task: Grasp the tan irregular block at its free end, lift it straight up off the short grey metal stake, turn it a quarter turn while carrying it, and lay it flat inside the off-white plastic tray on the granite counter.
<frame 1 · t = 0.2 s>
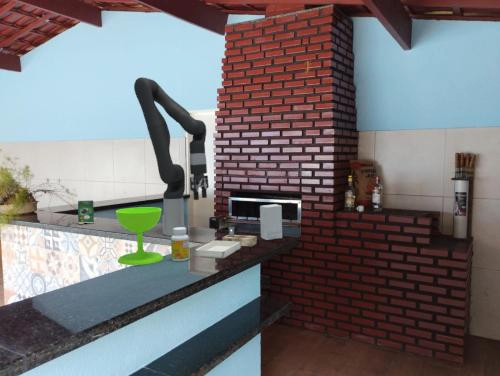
hand: (200, 198, 193), 17 cm above the counter, tool pointing down, fingers open, 8 cm apart
skincare box: (271, 238, 187), on the counter
tan irregular block: (239, 243, 176), on the counter
supplement bottle: (180, 259, 152), on the counter
tray: (218, 252, 162), on the counter
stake: (231, 243, 177), on the counter
wineglass: (140, 259, 152), on the counter
coffee box: (86, 224, 235), on the counter
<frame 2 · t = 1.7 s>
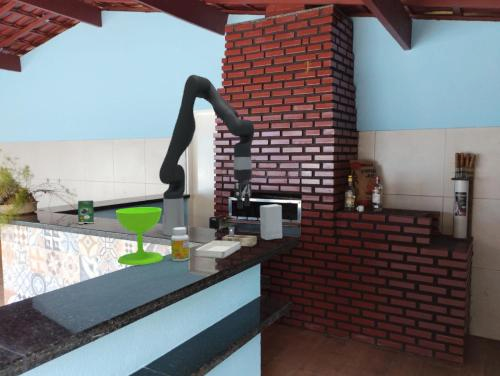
hand: (243, 207, 174), 15 cm above the counter, tool pointing down, fingers open, 8 cm apart
nothing on the counter moved.
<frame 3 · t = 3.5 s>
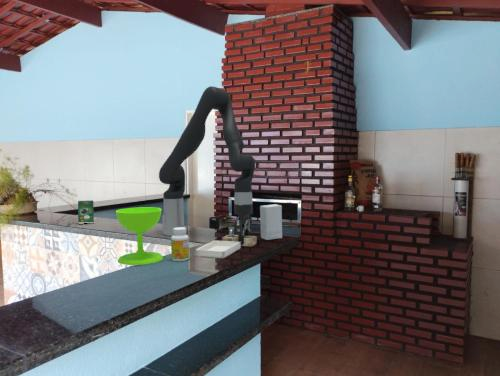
hand: (244, 242, 175), 1 cm above the counter, tool pointing down, fingers closed on tan irregular block, 6 cm apart
tan irregular block: (239, 243, 176), on the counter, touching gripper
everything else where it was.
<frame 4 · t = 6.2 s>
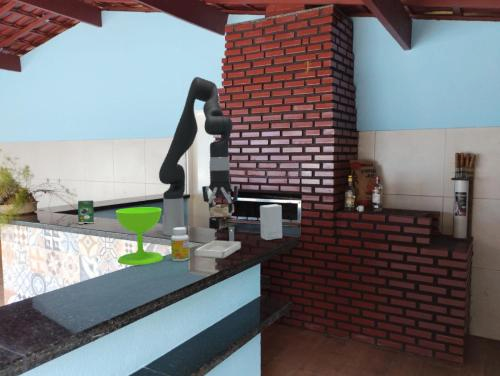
hand: (220, 212, 161), 15 cm above the counter, tool pointing down, fingers closed on tan irregular block, 6 cm apart
tan irregular block: (222, 214, 163), point 14 cm above the counter, touching gripper
everything else where it was.
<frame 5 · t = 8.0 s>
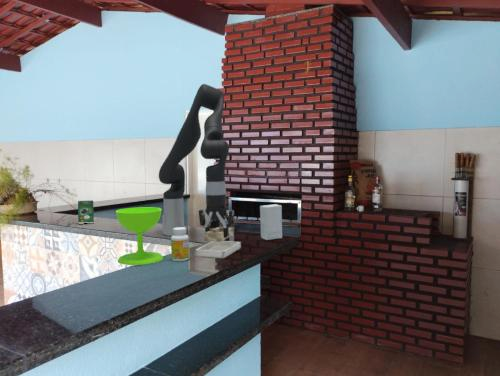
hand: (216, 237, 159), 6 cm above the counter, tool pointing down, fingers closed on tan irregular block, 6 cm apart
tan irregular block: (219, 238, 161), point 5 cm above the counter, touching gripper
everything else where it was.
when the fingers open (3 cm above the counter, at t = 9.3 s): tan irregular block drops 1 cm, resting on tray.
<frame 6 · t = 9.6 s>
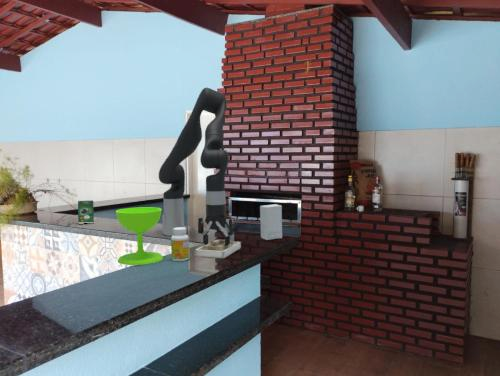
hand: (216, 245, 160), 3 cm above the counter, tool pointing down, fingers open, 8 cm apart
tan irregular block: (218, 250, 162), resting on tray
everything else where it was.
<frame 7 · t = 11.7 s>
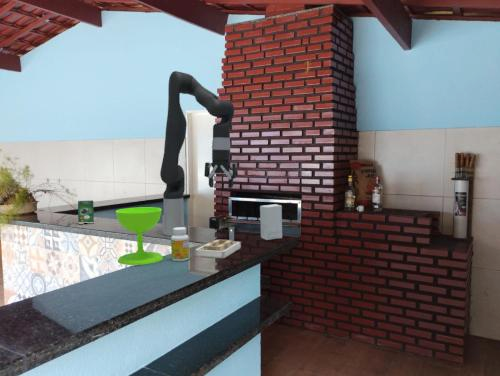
hand: (220, 187, 176), 24 cm above the counter, tool pointing down, fingers open, 8 cm apart
nothing on the counter moved.
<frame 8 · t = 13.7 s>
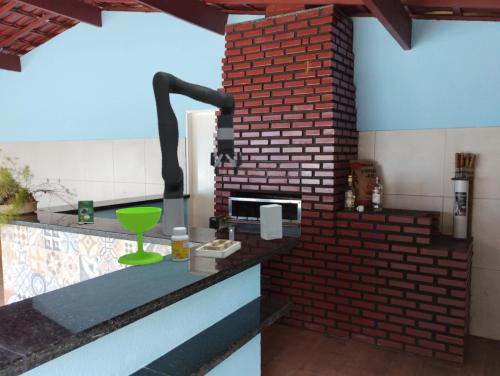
hand: (226, 175, 186), 28 cm above the counter, tool pointing down, fingers open, 8 cm apart
nothing on the counter moved.
at the end: tan irregular block inside the target area on the tray (0.0 cm from its centre), point 0.5 cm above the tray's base; tan irregular block tilted 0°; the gripper is holding nothing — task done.
